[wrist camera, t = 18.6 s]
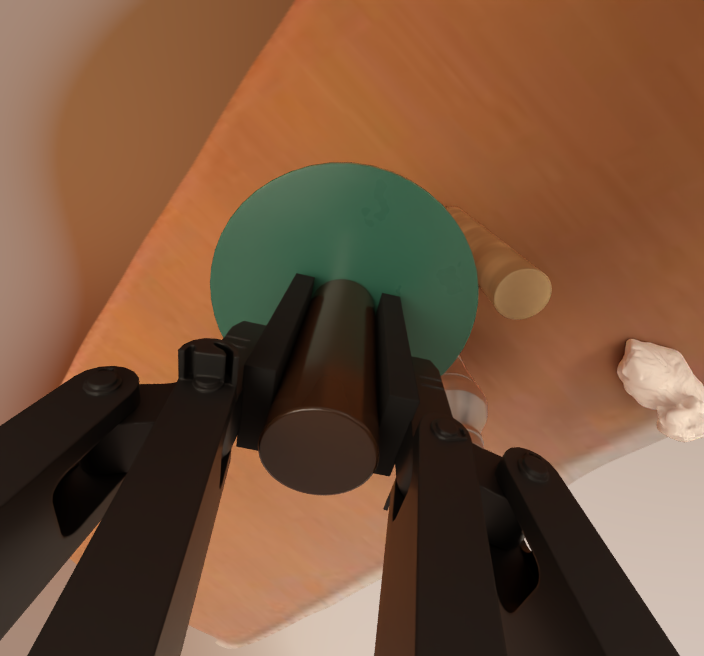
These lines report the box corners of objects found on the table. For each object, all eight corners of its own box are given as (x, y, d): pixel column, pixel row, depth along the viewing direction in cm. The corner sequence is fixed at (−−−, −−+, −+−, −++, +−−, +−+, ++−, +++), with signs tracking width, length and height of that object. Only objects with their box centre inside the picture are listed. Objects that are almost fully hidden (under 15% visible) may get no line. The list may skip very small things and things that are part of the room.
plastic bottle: (387, 319, 42) (397, 447, 25) (440, 295, 40) (492, 414, 23) (409, 360, 45) (433, 502, 27) (460, 339, 43) (521, 476, 25)
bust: (594, 334, 44) (589, 419, 39) (664, 314, 37) (668, 413, 33) (660, 377, 46) (663, 462, 42) (736, 365, 40) (751, 464, 35)
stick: (468, 207, 36) (560, 270, 18) (462, 236, 37) (542, 321, 20) (438, 205, 36) (501, 266, 18) (434, 234, 37) (488, 318, 20)
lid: (501, 172, 13) (702, 217, 5) (445, 405, 19) (502, 606, 11) (204, 150, 14) (-45, 162, 5) (232, 388, 19) (128, 573, 11)
